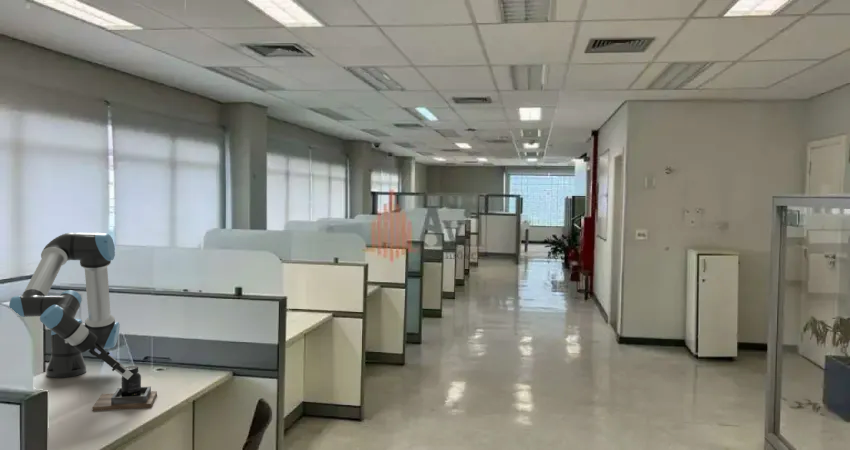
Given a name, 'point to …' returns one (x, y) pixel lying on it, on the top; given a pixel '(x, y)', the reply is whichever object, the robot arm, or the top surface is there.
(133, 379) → the supplement bottle
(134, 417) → the top surface
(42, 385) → the top surface
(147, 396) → the base board
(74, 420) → the top surface
